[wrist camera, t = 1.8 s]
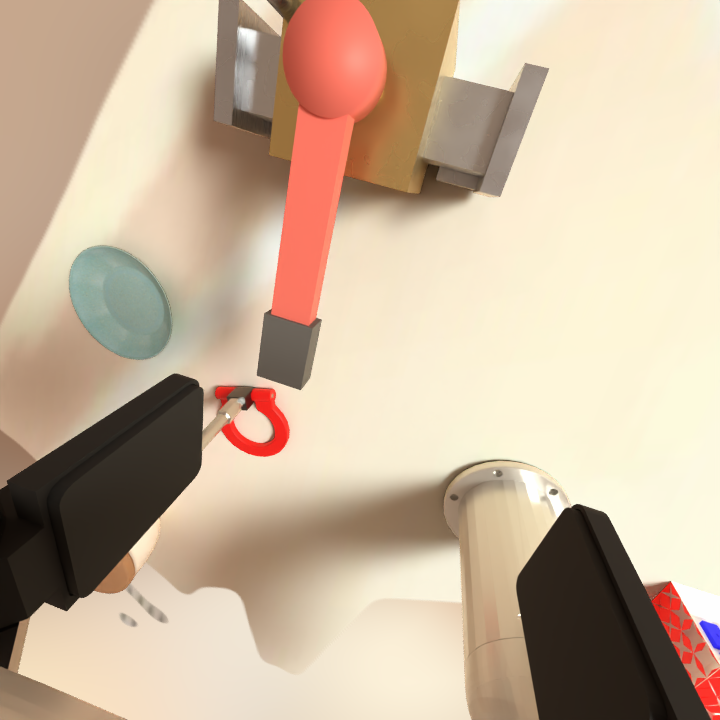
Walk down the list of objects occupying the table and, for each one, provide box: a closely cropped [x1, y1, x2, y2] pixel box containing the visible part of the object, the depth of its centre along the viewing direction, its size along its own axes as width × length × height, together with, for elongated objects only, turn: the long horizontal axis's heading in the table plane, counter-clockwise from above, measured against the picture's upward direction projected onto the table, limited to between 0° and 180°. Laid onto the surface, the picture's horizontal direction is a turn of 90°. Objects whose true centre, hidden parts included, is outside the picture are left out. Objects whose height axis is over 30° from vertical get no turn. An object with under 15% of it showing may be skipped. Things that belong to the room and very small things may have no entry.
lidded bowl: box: [94, 517, 160, 593], centre depth 48 cm, size 13×13×11 cm
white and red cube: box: [651, 581, 720, 720], centre depth 36 cm, size 8×8×8 cm
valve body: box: [214, 0, 549, 197], centre depth 21 cm, size 18×8×14 cm, turn 76°
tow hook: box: [202, 387, 289, 457], centre depth 36 cm, size 8×13×9 cm
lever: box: [257, 0, 387, 390], centre depth 18 cm, size 18×4×2 cm, turn 166°
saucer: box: [69, 246, 172, 360], centre depth 37 cm, size 12×12×2 cm
